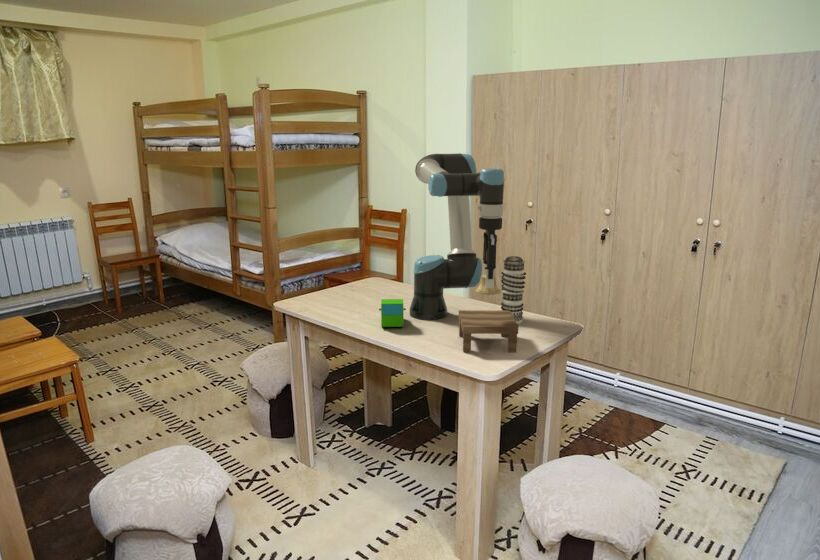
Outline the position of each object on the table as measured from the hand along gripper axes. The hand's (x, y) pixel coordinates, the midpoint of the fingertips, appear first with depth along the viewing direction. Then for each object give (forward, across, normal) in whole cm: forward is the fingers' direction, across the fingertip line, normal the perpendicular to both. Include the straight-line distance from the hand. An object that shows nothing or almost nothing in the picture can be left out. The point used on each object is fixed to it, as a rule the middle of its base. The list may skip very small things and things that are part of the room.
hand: (488, 285), depth 190 cm
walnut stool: (+21, 0, 0) cm, 21 cm away
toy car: (+21, -21, -33) cm, 44 cm away
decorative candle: (+21, -25, +13) cm, 35 cm away
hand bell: (+2, 0, 0) cm, 2 cm away
